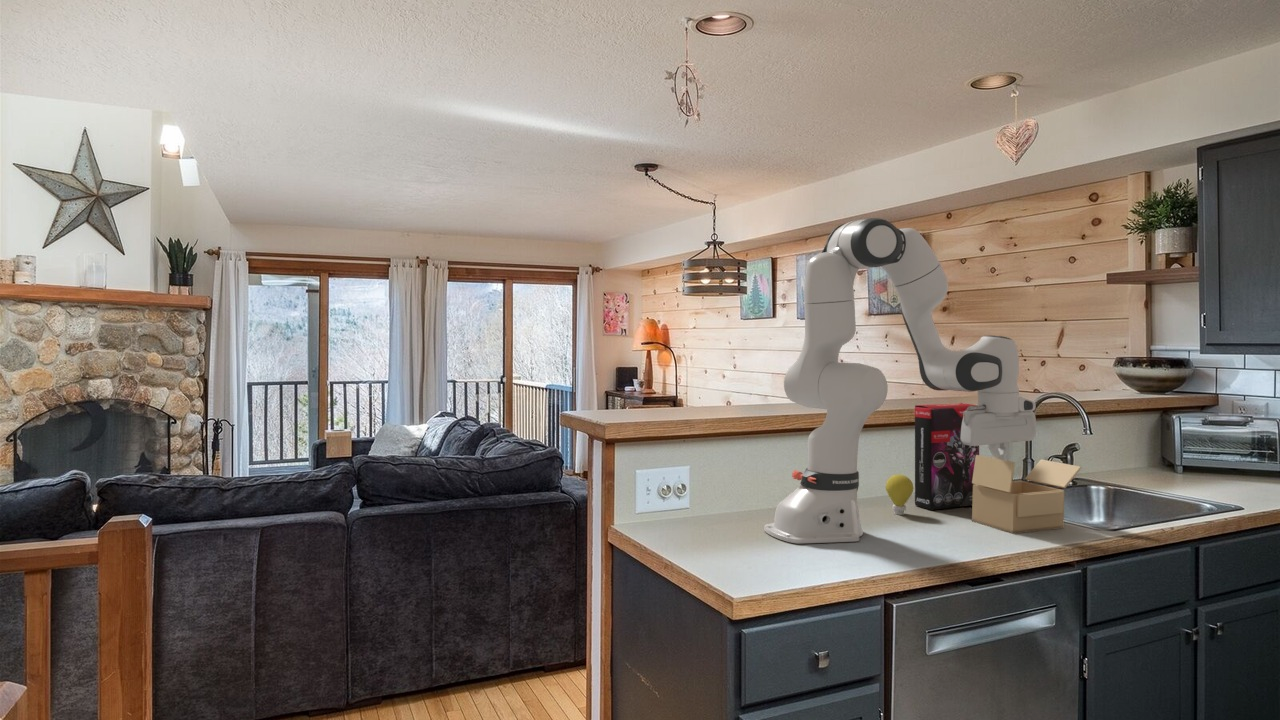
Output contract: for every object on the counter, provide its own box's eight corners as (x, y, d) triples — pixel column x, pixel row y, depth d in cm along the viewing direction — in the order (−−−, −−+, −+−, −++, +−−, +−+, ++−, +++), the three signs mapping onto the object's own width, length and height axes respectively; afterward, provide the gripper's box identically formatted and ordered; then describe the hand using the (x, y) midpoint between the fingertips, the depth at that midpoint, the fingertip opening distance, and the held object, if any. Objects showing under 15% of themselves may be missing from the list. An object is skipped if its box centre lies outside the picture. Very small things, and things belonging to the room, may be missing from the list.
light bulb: (901, 509, 190) (902, 471, 189) (918, 515, 183) (919, 476, 183) (879, 511, 188) (880, 472, 187) (896, 517, 181) (897, 477, 181)
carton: (1015, 534, 167) (1016, 495, 166) (969, 520, 179) (970, 484, 179) (1065, 528, 172) (1066, 490, 172) (1018, 515, 185) (1019, 480, 184)
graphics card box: (930, 511, 188) (933, 406, 187) (911, 505, 195) (913, 404, 194) (980, 506, 195) (982, 404, 194) (959, 501, 201) (962, 402, 200)
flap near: (973, 483, 178) (977, 454, 178) (1010, 492, 167) (1014, 462, 167) (971, 483, 177) (975, 454, 178) (1009, 492, 167) (1013, 462, 167)
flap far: (1064, 486, 173) (1080, 466, 175) (1024, 478, 183) (1040, 459, 185) (1065, 488, 173) (1081, 468, 175) (1025, 479, 184) (1041, 460, 185)
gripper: (974, 407, 166) (975, 467, 166) (1041, 402, 173) (1041, 460, 174) (953, 405, 172) (954, 463, 172) (1018, 400, 179) (1018, 456, 179)
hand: (998, 461), depth 173 cm, fingers closed
